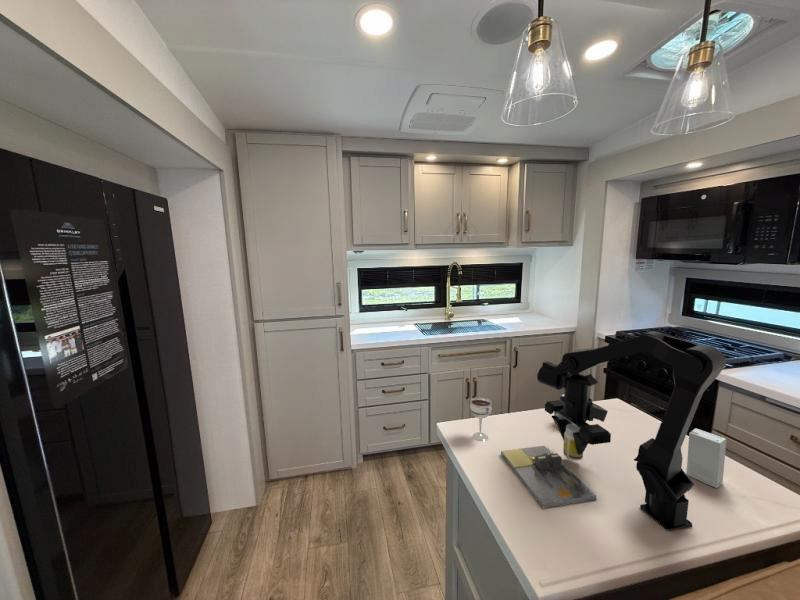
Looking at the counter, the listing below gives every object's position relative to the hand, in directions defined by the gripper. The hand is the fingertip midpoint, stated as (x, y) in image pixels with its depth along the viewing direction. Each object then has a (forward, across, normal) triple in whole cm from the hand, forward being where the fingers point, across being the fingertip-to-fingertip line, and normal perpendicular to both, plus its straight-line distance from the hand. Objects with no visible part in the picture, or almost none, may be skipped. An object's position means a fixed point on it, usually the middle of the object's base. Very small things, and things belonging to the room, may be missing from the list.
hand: (573, 448), depth 86 cm
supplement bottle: (+2, 0, 0) cm, 2 cm away
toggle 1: (+3, -2, +11) cm, 12 cm away
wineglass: (+4, +17, +20) cm, 27 cm away
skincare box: (+4, -12, -28) cm, 31 cm away
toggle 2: (+3, -2, +7) cm, 8 cm away
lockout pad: (+3, +3, +15) cm, 16 cm away
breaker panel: (+4, -3, +11) cm, 12 cm away
